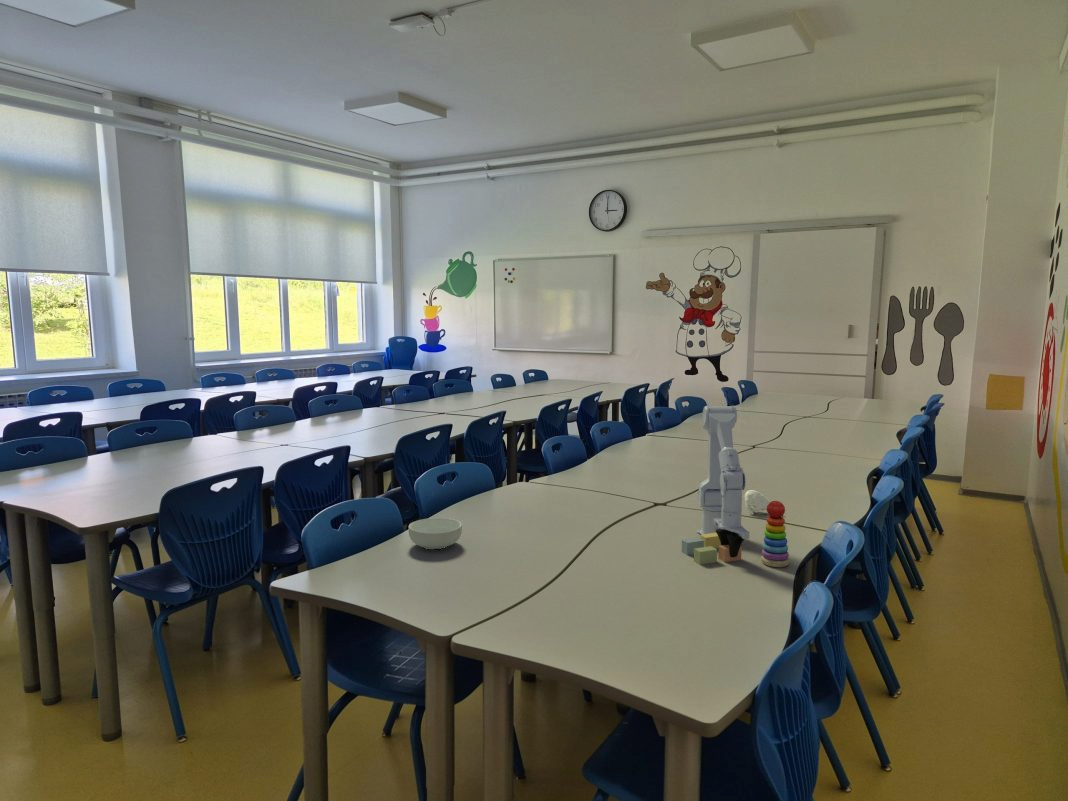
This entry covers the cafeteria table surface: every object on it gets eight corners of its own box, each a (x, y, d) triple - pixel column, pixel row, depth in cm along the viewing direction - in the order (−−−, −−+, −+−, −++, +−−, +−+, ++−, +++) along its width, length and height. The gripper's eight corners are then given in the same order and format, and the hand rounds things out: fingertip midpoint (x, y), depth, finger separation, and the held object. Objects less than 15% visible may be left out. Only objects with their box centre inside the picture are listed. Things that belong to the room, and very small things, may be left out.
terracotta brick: (734, 556, 201) (735, 543, 201) (741, 559, 199) (741, 546, 198) (718, 558, 199) (718, 546, 199) (724, 562, 197) (724, 549, 196)
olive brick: (710, 558, 200) (711, 546, 199) (716, 562, 197) (717, 549, 196) (693, 561, 197) (694, 548, 197) (699, 565, 195) (699, 552, 194)
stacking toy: (788, 560, 198) (791, 499, 196) (789, 569, 191) (792, 506, 188) (760, 557, 201) (763, 496, 198) (760, 566, 193) (763, 503, 191)
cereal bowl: (473, 545, 211) (472, 524, 210) (431, 559, 199) (431, 537, 198) (439, 534, 223) (438, 513, 222) (398, 546, 211) (397, 525, 210)
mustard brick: (715, 544, 212) (716, 532, 211) (721, 547, 209) (721, 535, 209) (699, 547, 210) (700, 534, 209) (705, 550, 207) (705, 537, 207)
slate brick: (698, 549, 207) (698, 537, 207) (703, 553, 205) (704, 540, 204) (681, 552, 205) (681, 539, 205) (687, 555, 202) (687, 542, 202)
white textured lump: (745, 487, 248) (778, 492, 245) (742, 509, 250) (775, 514, 247) (746, 491, 242) (780, 496, 239) (742, 514, 243) (777, 519, 241)
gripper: (705, 505, 202) (704, 548, 204) (735, 518, 189) (734, 564, 191) (724, 503, 205) (723, 545, 207) (756, 516, 191) (754, 561, 193)
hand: (729, 554), depth 199 cm, fingers closed on terracotta brick, 3 cm apart
